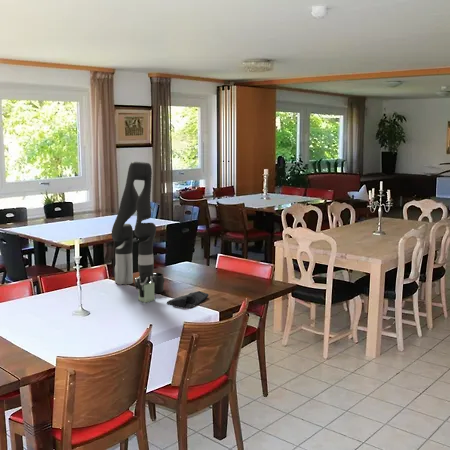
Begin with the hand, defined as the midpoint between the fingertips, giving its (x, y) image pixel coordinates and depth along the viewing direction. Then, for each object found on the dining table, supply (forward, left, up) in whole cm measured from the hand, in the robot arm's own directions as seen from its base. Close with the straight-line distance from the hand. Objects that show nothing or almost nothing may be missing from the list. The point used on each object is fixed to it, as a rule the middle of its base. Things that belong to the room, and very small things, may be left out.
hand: (146, 295), depth 279 cm
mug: (-9, +16, -3) cm, 19 cm away
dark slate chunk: (+17, +13, -3) cm, 22 cm away
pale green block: (0, 0, -2) cm, 2 cm away
